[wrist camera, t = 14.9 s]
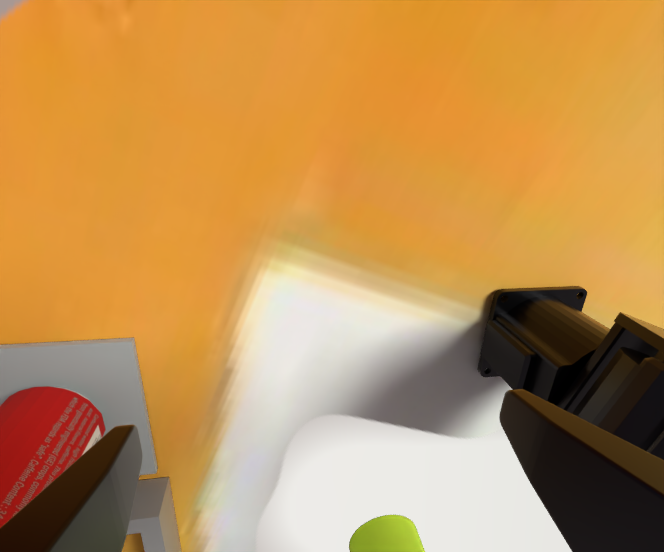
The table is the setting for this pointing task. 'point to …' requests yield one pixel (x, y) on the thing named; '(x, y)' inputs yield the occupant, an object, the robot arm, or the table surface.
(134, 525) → the collar
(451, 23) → the table surface
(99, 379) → the mat
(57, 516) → the robot arm
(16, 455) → the soda can
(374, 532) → the soap dispenser
